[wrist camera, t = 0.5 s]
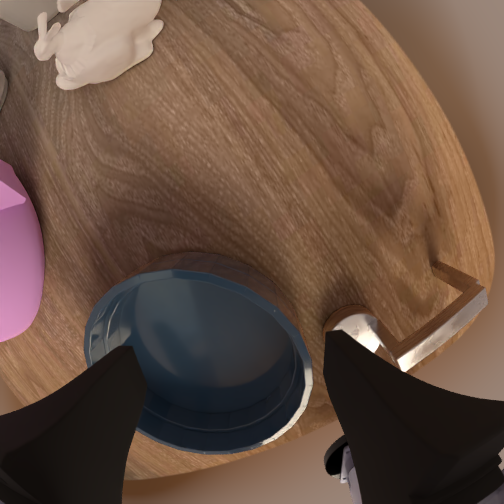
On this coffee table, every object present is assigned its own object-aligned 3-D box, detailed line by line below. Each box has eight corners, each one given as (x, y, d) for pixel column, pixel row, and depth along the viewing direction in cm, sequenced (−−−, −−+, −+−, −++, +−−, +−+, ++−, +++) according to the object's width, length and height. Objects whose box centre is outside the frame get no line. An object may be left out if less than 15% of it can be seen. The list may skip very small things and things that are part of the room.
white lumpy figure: (180, -21, 13) (147, -98, 4) (235, 26, 14) (220, -73, 5) (60, 72, 15) (-20, 36, 5) (96, 131, 16) (-6, 105, 7)
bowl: (308, 405, 20) (316, 445, 16) (147, 415, 21) (132, 449, 17) (289, 233, 17) (300, 248, 13) (90, 266, 18) (54, 286, 14)
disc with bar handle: (336, 362, 19) (359, 416, 13) (312, 324, 19) (332, 377, 13) (446, 285, 18) (494, 315, 12) (431, 243, 17) (486, 264, 11)
